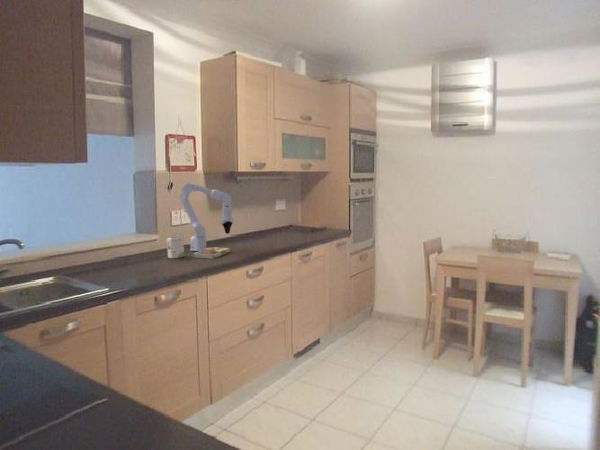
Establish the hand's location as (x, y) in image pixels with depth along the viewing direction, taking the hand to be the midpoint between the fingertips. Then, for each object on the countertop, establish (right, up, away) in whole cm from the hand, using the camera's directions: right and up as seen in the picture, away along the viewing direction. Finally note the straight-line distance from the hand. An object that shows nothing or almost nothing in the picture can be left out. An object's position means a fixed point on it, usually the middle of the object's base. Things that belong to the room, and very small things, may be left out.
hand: (227, 233), depth 289 cm
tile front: (-8, -13, -23) cm, 28 cm away
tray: (-8, -14, -23) cm, 28 cm away
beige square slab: (-5, -12, -13) cm, 18 cm away
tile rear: (-8, -11, -22) cm, 25 cm away
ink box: (-27, -14, -24) cm, 39 cm away
